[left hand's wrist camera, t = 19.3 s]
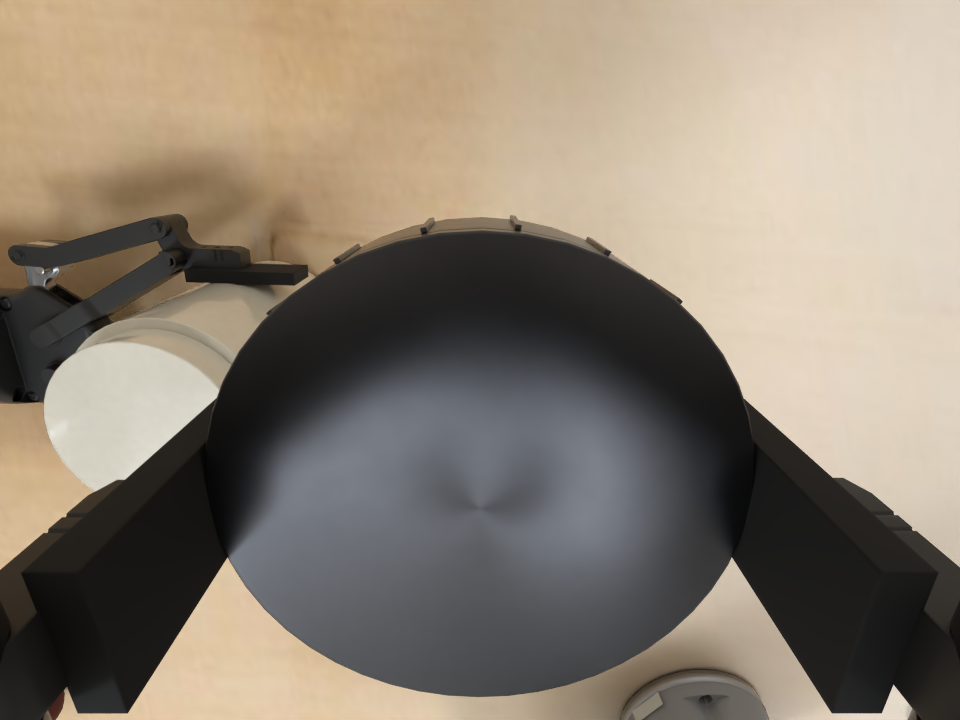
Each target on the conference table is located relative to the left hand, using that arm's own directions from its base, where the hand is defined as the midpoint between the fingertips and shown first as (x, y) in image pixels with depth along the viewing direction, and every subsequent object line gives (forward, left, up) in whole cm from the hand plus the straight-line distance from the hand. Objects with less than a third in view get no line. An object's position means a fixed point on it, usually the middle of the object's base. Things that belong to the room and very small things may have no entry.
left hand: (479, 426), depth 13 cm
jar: (+8, +14, -27) cm, 31 cm away
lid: (0, 0, +3) cm, 3 cm away
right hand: (+5, +12, -20) cm, 24 cm away
